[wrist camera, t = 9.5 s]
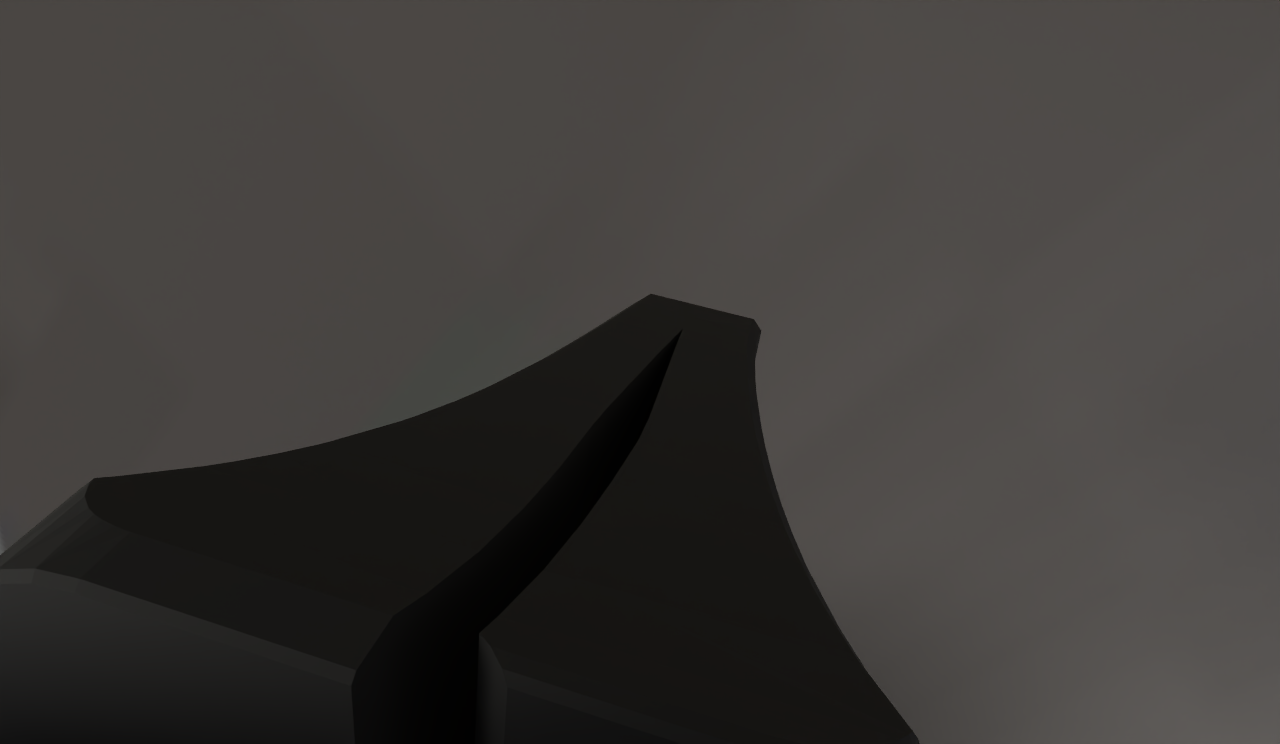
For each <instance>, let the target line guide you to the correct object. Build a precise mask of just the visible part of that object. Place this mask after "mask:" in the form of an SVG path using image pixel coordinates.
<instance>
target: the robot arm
mask: <svg viewBox="0 0 1280 744" xmlns="http://www.w3.org/2000/svg"><path fill="white" fill-rule="evenodd" d="M760 334H761V330H760V328H759V327H758V325H757V323H756V322H755V320H754V319H751V318H747V317H743V316H738V315H734V314H730V313H726V312H722V311H718V310H714V309H710V308H706V307H702V306H698V305H694V304H690V303H686V302H682V301H678V300H674V299H670V298H666V297H662V296H658V295H653V294H650V295H648V296H647V297H645V298H643V299H641V300H640V301H638V302H636V303H635V304H633V305H631V306H630V307H628V308H626V309H625V310H623V311H622V312H620V313H618V314H617V315H615V316H614V317H612V318H610V319H609V320H607V321H606V322H604V323H603V324H601V325H599V326H598V327H596V328H595V329H593V330H591V331H590V332H588V333H587V334H585V335H583V336H582V337H580V338H578V339H577V340H575V341H573V342H571V343H570V344H568V345H566V346H565V347H563V348H561V349H560V350H558V351H556V352H554V353H553V354H551V355H549V356H548V357H546V358H544V359H542V360H540V361H539V362H537V363H535V364H533V365H531V366H529V367H527V368H525V369H523V370H521V371H519V372H517V373H515V374H513V375H511V376H509V377H507V378H505V379H503V380H501V381H499V382H497V383H495V384H493V385H491V386H489V387H487V388H485V389H483V390H480V391H478V392H476V393H474V394H471V395H469V396H467V397H464V398H462V399H459V400H457V401H455V402H452V403H449V404H447V405H444V406H441V407H439V408H436V409H433V410H431V411H428V412H426V413H423V414H420V415H418V416H415V417H412V418H409V419H406V420H403V421H400V422H396V423H393V424H390V425H386V426H383V427H379V428H376V429H372V430H369V431H365V432H362V433H358V434H355V435H351V436H348V437H345V438H341V439H338V440H334V441H331V442H327V443H323V444H319V445H314V446H310V447H305V448H301V449H296V450H292V451H287V452H283V453H278V454H273V455H267V456H262V457H256V458H251V459H246V460H240V461H235V462H228V463H222V464H216V465H209V466H202V467H194V468H185V469H176V470H168V471H159V472H151V473H142V474H133V475H125V476H115V477H103V478H94V479H93V480H91V481H90V482H89V483H87V484H86V485H85V486H84V487H82V488H81V489H80V490H78V491H77V492H76V493H75V494H74V495H72V496H71V497H70V498H69V499H68V500H66V501H65V502H64V503H63V504H61V505H60V506H59V507H58V508H57V509H55V510H54V511H53V512H52V513H51V514H49V515H48V516H47V517H46V518H45V519H43V520H42V521H41V522H40V523H39V524H37V525H36V526H35V527H34V528H33V529H31V530H30V531H29V532H28V533H26V534H25V535H24V536H23V537H22V538H20V539H19V540H18V541H17V542H16V543H14V544H13V545H12V546H11V547H10V548H8V549H7V550H6V551H5V552H4V553H2V554H1V555H0V744H919V740H918V738H917V737H916V735H915V734H914V732H913V731H912V730H911V728H910V727H909V726H908V724H907V723H906V722H905V720H904V719H903V718H902V717H901V715H900V714H899V713H898V711H897V710H896V709H895V708H894V706H893V705H892V704H891V702H890V701H889V700H888V698H887V697H886V696H885V695H884V693H883V692H882V691H881V689H880V688H879V687H878V686H877V684H876V683H875V682H874V680H873V679H872V678H871V676H870V675H869V674H868V672H867V671H866V669H865V668H864V666H863V665H862V663H861V662H860V660H859V658H858V657H857V655H856V654H855V652H854V651H853V649H852V647H851V646H850V644H849V643H848V641H847V640H846V638H845V636H844V635H843V633H842V632H841V630H840V628H839V627H838V625H837V623H836V621H835V619H834V617H833V615H832V613H831V612H830V610H829V608H828V606H827V604H826V602H825V600H824V598H823V597H822V595H821V593H820V591H819V589H818V587H817V585H816V583H815V582H814V580H813V578H812V576H811V574H810V572H809V570H808V568H807V566H806V564H805V562H804V560H803V557H802V555H801V553H800V550H799V548H798V546H797V543H796V541H795V539H794V536H793V534H792V532H791V529H790V526H789V523H788V521H787V518H786V515H785V513H784V510H783V507H782V504H781V502H780V498H779V495H778V492H777V489H776V486H775V482H774V479H773V475H772V472H771V468H770V464H769V460H768V456H767V452H766V448H765V443H764V438H763V433H762V429H761V422H760V415H759V408H758V402H757V394H756V383H755V357H756V353H757V348H758V343H759V339H760Z"/></svg>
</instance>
